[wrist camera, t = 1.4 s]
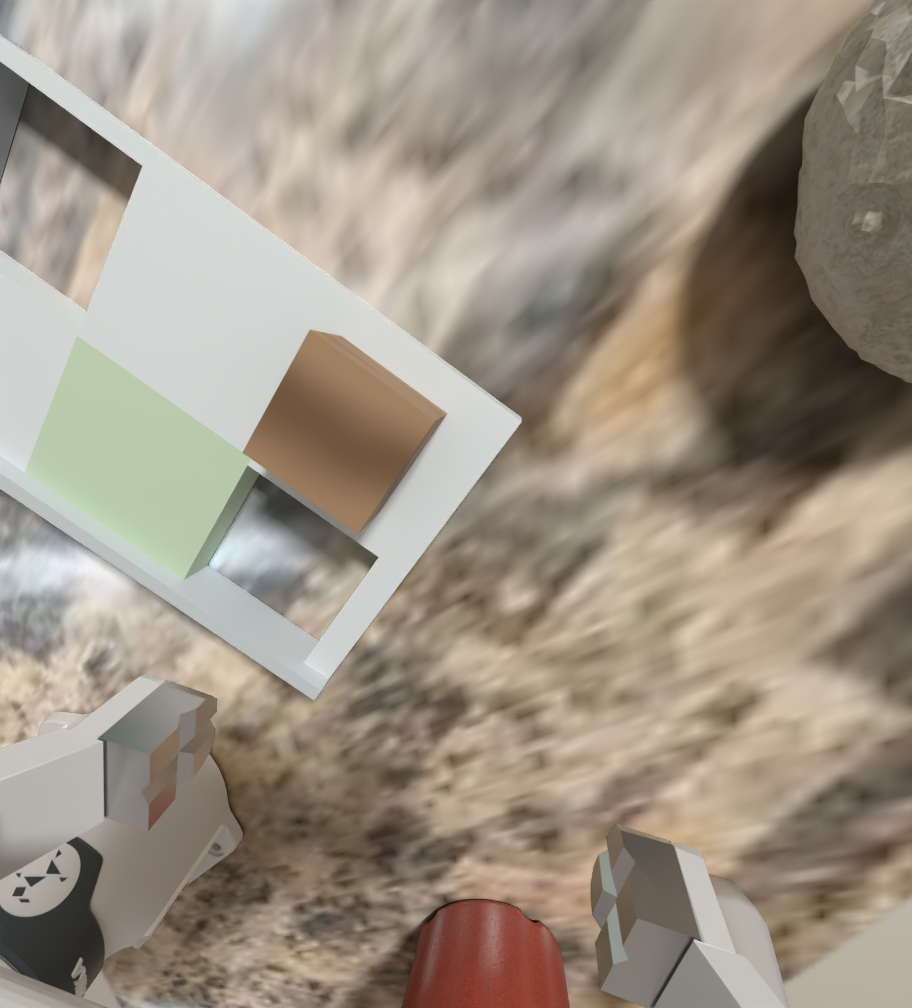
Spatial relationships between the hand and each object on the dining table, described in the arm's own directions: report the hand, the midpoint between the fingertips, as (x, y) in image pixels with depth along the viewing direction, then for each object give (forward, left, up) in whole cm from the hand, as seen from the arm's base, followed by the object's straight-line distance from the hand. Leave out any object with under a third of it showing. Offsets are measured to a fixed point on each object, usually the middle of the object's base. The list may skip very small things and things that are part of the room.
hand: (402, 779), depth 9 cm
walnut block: (0, +8, -18) cm, 20 cm away
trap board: (-5, +18, -21) cm, 28 cm away
